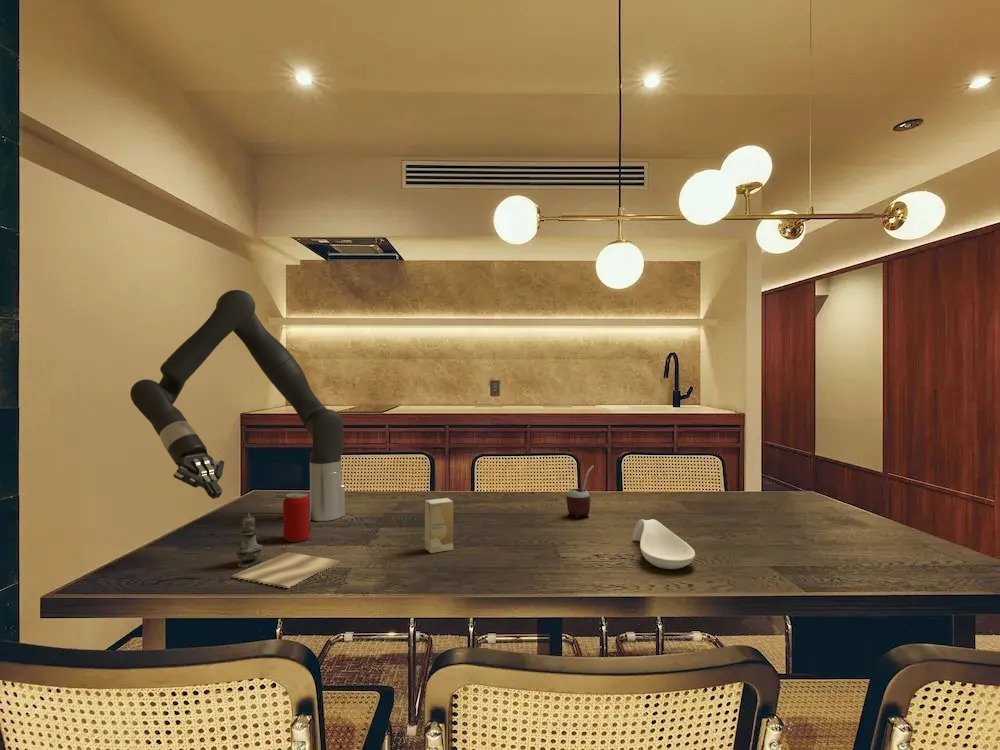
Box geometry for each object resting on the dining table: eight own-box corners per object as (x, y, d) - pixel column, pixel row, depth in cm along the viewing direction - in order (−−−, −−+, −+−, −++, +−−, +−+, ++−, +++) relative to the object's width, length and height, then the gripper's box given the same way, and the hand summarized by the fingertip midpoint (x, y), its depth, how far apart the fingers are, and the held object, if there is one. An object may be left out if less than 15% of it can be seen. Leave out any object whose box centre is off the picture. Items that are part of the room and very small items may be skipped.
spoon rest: (704, 574, 116) (704, 541, 116) (651, 576, 115) (651, 543, 115) (662, 540, 140) (661, 512, 140) (617, 541, 139) (617, 514, 139)
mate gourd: (564, 519, 160) (563, 468, 160) (570, 512, 167) (570, 464, 167) (588, 521, 157) (588, 469, 157) (594, 514, 164) (594, 465, 164)
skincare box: (430, 554, 131) (429, 503, 131) (424, 548, 135) (423, 500, 135) (454, 549, 134) (453, 500, 134) (448, 544, 138) (447, 497, 138)
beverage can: (316, 536, 146) (315, 492, 146) (299, 544, 140) (298, 498, 140) (295, 534, 149) (294, 491, 148) (278, 542, 142) (277, 496, 142)
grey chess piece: (252, 568, 123) (251, 516, 123) (229, 567, 124) (228, 515, 124) (268, 559, 129) (267, 509, 129) (246, 558, 130) (245, 508, 130)
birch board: (232, 578, 118) (232, 575, 117) (288, 554, 132) (288, 552, 132) (287, 589, 111) (287, 586, 111) (340, 563, 126) (340, 560, 126)
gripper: (164, 436, 128) (200, 491, 123) (213, 430, 140) (248, 480, 135) (149, 457, 130) (184, 512, 125) (199, 449, 142) (233, 500, 137)
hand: (217, 496), depth 130 cm, fingers closed
